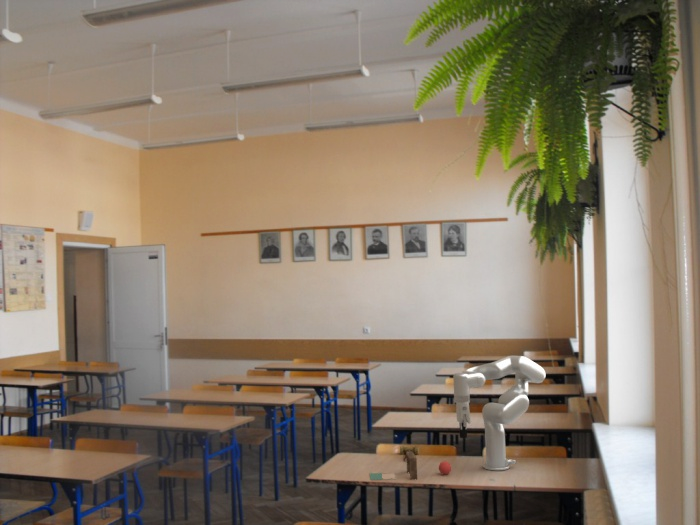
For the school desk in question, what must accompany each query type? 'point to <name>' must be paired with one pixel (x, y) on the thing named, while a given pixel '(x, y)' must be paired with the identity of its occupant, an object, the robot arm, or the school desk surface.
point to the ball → (445, 467)
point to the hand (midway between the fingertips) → (463, 437)
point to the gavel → (409, 450)
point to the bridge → (411, 465)
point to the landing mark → (376, 476)
